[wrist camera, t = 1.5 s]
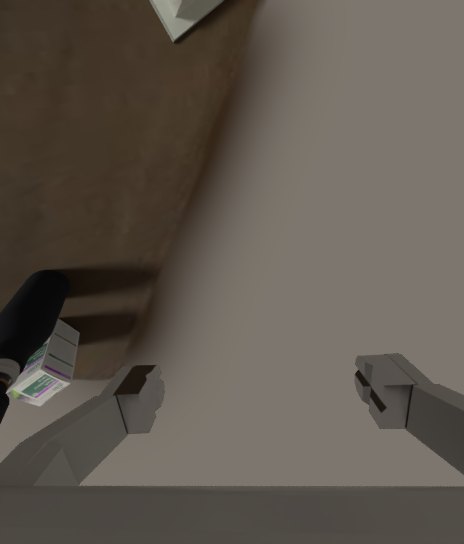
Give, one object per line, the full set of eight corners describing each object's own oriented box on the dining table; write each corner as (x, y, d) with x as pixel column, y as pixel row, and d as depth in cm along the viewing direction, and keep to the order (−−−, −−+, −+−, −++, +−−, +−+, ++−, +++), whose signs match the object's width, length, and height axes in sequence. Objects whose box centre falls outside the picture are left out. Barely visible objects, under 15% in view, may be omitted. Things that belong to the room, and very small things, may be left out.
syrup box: (57, 317, 44) (38, 368, 33) (81, 332, 48) (71, 384, 36) (32, 335, 43) (2, 394, 32) (57, 350, 47) (40, 408, 35)
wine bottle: (73, 274, 43) (24, 404, 18) (64, 302, 44) (6, 460, 20) (31, 266, 39) (-100, 413, 15) (22, 296, 40) (-112, 481, 16)
